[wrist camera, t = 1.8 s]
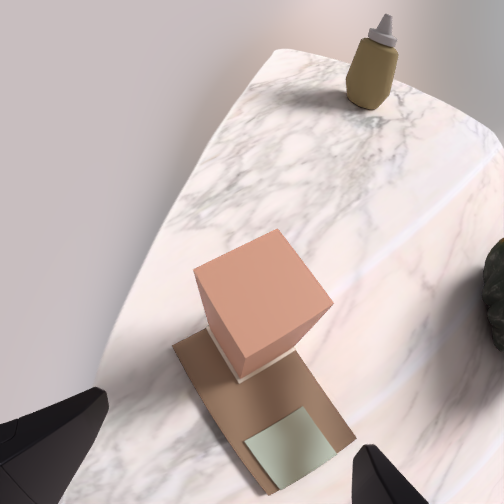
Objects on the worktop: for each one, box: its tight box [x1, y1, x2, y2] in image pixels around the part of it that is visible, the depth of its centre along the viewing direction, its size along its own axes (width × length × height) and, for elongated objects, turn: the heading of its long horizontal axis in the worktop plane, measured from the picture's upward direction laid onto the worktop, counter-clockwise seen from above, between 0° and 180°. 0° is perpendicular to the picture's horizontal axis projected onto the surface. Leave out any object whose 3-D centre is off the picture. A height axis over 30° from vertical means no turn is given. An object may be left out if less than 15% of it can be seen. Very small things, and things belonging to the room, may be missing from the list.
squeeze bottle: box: [346, 14, 398, 109], centre depth 35 cm, size 8×8×18 cm
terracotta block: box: [193, 228, 334, 379], centre depth 17 cm, size 4×4×10 cm
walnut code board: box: [172, 326, 357, 496], centre depth 19 cm, size 8×14×1 cm, turn 31°
